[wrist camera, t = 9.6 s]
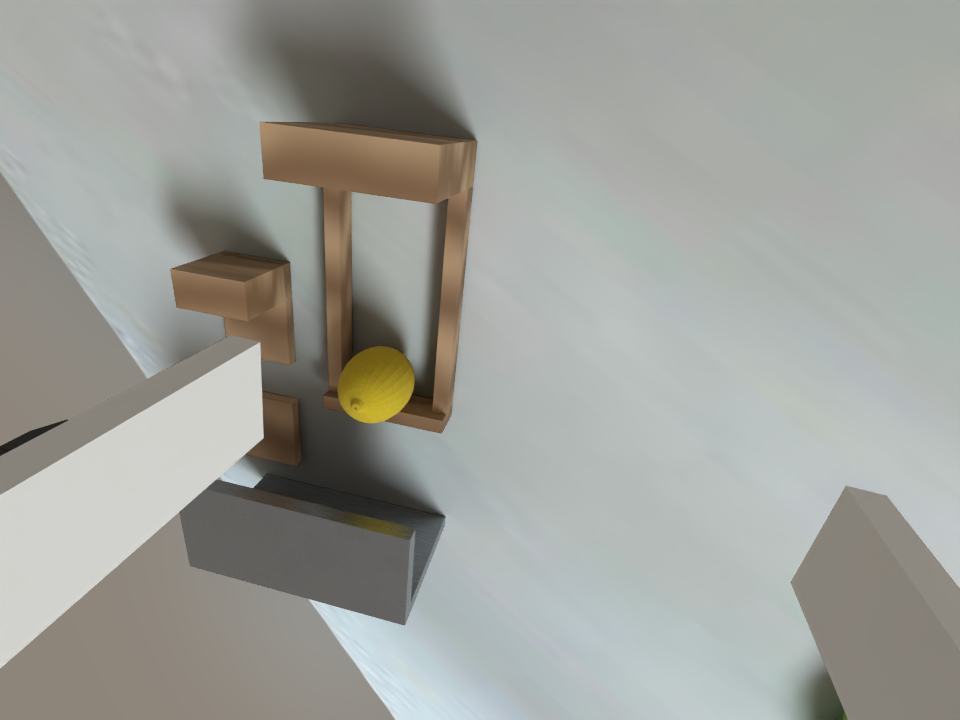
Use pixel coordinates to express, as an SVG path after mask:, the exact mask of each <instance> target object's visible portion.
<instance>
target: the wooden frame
mask: <svg viewBox="0 0 960 720" xmlns="http://www.w3.org/2000/svg"><path fill="white" fill-rule="evenodd" d="M260 135H261V149H262V162H263V175H264V179H269V180H276V181H283V182H289V183H296V184H303V185H310V186H317V187H323V200H324V236H325V272H326V308H327V344H328V380H329V391H328V392H326V393H325V394H324V395H323V408H326V409H330V410H335V411H340V412H344V413H347V412H346V411H345V410H344V409H343V407H342V406H341V404H340V401H339V398H338V390H337V388H338V382H339V378H340V376H341V374H342V372H343V370H344V368H345V366H346V365H347V363H348V362H349V361H350V360H351V359H352V244H351V192H358V193H365V194H371V195H378V196H385V197H392V198H399V199H406V200H412V201H419V202H426V203H433V204H437V203H439V202H441V201H443V200H445V199H448V207H447V221H446V234H445V247H444V261H443V274H442V287H441V301H440V314H439V327H438V341H437V354H436V367H435V381H434V394H433V399H430V398H425V397H420V396H415V395H411V397H410V399H409V401H408V403H407V404H406V405H405V406H404V407H403V408H402V410H401V411H400V412H399V413H397V414H396V415H394V416H393V417H391V418H389V419H388V420H385V421H386V422H390V423H395V424H400V425H404V426H409V427H414V428H418V429H423V430H428V431H432V432H437V433H441V434H442V432H443V430H444V428H445V426H446V424H447V422H448V421H449V419H450V417H451V414H452V403H453V393H454V382H455V371H456V361H457V350H458V340H459V329H460V318H461V308H462V297H463V287H464V276H465V266H466V255H467V244H468V234H469V223H470V213H471V202H472V192H473V181H474V170H475V160H476V149H477V141H476V140H468V139H460V138H452V137H444V136H436V135H428V134H420V133H412V132H404V131H396V130H388V129H380V128H372V127H365V126H357V125H349V124H341V123H309V122H260Z"/></svg>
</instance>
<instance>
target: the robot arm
mask: <svg viewBox="0 0 960 720" xmlns="http://www.w3.org/2000/svg"><path fill="white" fill-rule="evenodd" d="M263 438H264V434H263V406H262V378H261V350H260V342H258V341H254V340H250V339H246V338H241V337H237V336H233V335H230V336H229V337H227V338H225V339H223V340H221V341H219V342H217V343H215V344H213V345H211V346H209V347H208V348H206V349H204V350H202V351H200V352H198V353H196V354H194V355H192V356H190V357H188V358H187V359H185V360H183V361H181V362H179V363H177V364H175V365H173V366H171V367H169V368H167V369H166V370H164V371H162V372H160V373H158V374H156V375H154V376H152V377H150V378H148V379H146V380H145V381H143V382H141V383H139V384H137V385H135V386H133V387H131V388H129V389H127V390H126V391H124V392H122V393H120V394H118V395H116V396H115V397H112V398H111V399H108V400H106V401H105V402H103V403H101V404H99V405H97V406H95V407H93V408H91V409H89V410H87V411H85V412H84V413H82V414H80V415H78V416H76V417H74V418H72V419H70V420H64V421H61V422H58V423H55V424H51V425H48V426H45V427H42V428H38V429H35V430H32V431H29V432H27V433H25V434H23V435H21V436H20V437H17V438H15V439H14V440H12V441H10V442H8V443H6V444H4V445H2V446H0V668H1V667H2V666H3V665H5V664H6V663H7V662H8V661H9V660H10V659H11V658H13V657H14V656H15V655H16V654H17V653H18V652H20V651H21V650H22V649H23V648H24V647H25V646H26V645H27V644H28V643H30V642H31V641H32V640H33V639H34V638H35V637H37V636H38V635H39V634H40V633H41V632H42V631H43V630H45V629H46V628H47V627H48V626H49V625H50V624H51V623H53V622H54V621H55V620H56V619H57V618H58V617H60V615H62V614H63V613H64V612H65V611H66V610H68V609H69V608H70V607H71V606H72V605H73V604H74V603H76V601H78V600H79V599H80V598H81V597H82V596H83V595H85V594H86V593H87V592H88V591H89V590H90V589H91V588H93V587H94V586H95V585H96V584H97V583H98V582H99V581H101V580H102V579H103V578H104V577H105V576H106V575H108V574H109V573H110V572H111V571H112V570H113V569H114V568H115V567H117V566H118V565H119V564H120V563H121V562H122V561H123V560H124V559H126V558H127V557H128V556H129V555H130V554H132V553H133V552H134V551H135V550H136V549H137V548H138V547H140V546H141V545H142V544H143V543H144V542H145V541H146V540H148V539H149V538H150V537H151V536H152V535H153V534H154V533H156V532H157V531H158V530H159V529H160V528H161V527H162V526H163V525H165V524H166V523H167V522H168V521H169V520H170V519H172V518H173V517H174V516H175V515H176V514H177V513H178V512H180V511H181V510H182V509H183V508H184V507H185V506H186V505H188V504H189V503H190V502H191V501H192V500H193V499H195V498H196V497H197V496H198V495H199V494H200V493H201V492H203V491H204V490H205V489H206V488H207V487H208V486H209V485H211V484H212V483H213V482H214V481H215V480H216V479H217V478H219V477H220V476H221V475H222V474H223V473H224V472H225V471H227V470H228V469H229V468H230V467H231V466H232V465H233V464H235V463H236V462H237V461H238V460H239V459H240V458H241V457H243V456H244V455H245V454H246V453H247V452H248V451H249V450H251V449H252V448H253V447H254V446H255V445H256V444H257V443H259V442H260V441H261V440H262V439H263ZM791 584H792V587H793V589H794V592H795V594H796V596H797V599H798V601H799V604H800V606H801V608H802V611H803V613H804V615H805V618H806V620H807V623H808V625H809V627H810V630H811V632H812V635H813V637H814V639H815V642H816V644H817V647H818V649H819V651H820V654H821V656H822V659H823V661H824V663H825V666H826V668H827V671H828V673H829V675H830V678H831V680H832V683H833V685H834V687H835V690H836V692H837V695H838V697H839V699H840V702H841V704H842V707H843V709H844V711H845V714H846V716H847V719H848V720H960V588H959V587H958V586H957V585H956V583H955V582H954V581H953V580H952V578H951V577H950V576H949V574H948V573H947V572H946V571H945V569H944V568H943V567H942V566H941V564H940V563H939V562H938V560H937V559H936V558H935V557H934V555H933V554H932V553H931V552H930V550H929V549H928V548H927V546H926V545H925V544H924V543H923V541H922V540H921V539H920V538H919V536H918V535H917V534H916V533H915V531H914V530H913V529H912V527H911V526H910V525H909V524H908V522H907V521H906V520H905V519H904V517H903V516H902V515H901V513H900V512H899V511H898V510H897V508H896V507H895V506H894V505H893V503H892V502H891V501H890V499H889V498H888V497H887V496H885V495H881V494H877V493H873V492H869V491H865V490H861V489H857V488H853V487H849V486H846V487H845V488H844V490H843V492H842V494H841V495H840V497H839V499H838V501H837V502H836V504H835V506H834V508H833V509H832V511H831V513H830V515H829V516H828V518H827V520H826V522H825V523H824V525H823V527H822V529H821V530H820V532H819V534H818V536H817V537H816V539H815V541H814V543H813V544H812V546H811V548H810V550H809V551H808V553H807V555H806V557H805V558H804V560H803V562H802V564H801V565H800V567H799V569H798V571H797V572H796V574H795V576H794V578H793V579H792V581H791Z"/></svg>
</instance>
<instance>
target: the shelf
mask: <svg viewBox="0 0 960 720" xmlns="http://www.w3.org/2000/svg"><path fill="white" fill-rule="evenodd" d="M180 517H181V523H182V528H183V533H184V538H185V543H186V548H187V552H188V558H189V563H190V566H192V567H196V568H199V569H203V570H206V571H210V572H214V573H217V574H221V575H225V576H228V577H232V578H236V579H239V580H242V581H247V582H250V583H254V584H257V585H261V586H264V587H268V588H272V589H275V590H279V591H282V592H286V593H289V594H293V595H297V596H300V597H304V598H308V599H311V600H315V601H318V602H322V603H326V604H329V605H333V606H336V607H340V608H344V609H347V610H351V611H354V612H358V613H362V614H365V615H369V616H372V617H376V618H380V619H383V620H387V621H391V622H394V623H398V624H401V625H405V624H406V622H407V619H408V616H409V614H410V611H411V609H412V606H413V604H414V601H415V599H416V596H417V594H418V591H419V589H420V586H421V584H422V581H423V579H424V576H425V574H426V571H427V569H428V566H429V564H430V561H431V559H432V556H433V553H434V551H435V548H436V546H437V543H438V541H439V538H440V536H441V533H442V531H443V528H444V524H445V517H444V516H440V515H435V514H431V513H427V512H423V511H419V510H415V509H410V508H406V507H402V506H398V505H394V504H390V503H386V502H381V501H377V500H373V499H369V498H365V497H361V496H356V495H352V494H348V493H344V492H340V491H336V490H332V489H327V488H323V487H319V486H315V485H311V484H307V483H302V482H298V481H294V480H290V479H286V478H282V477H278V476H273V475H269V474H266V475H265V476H264V477H263V478H262V479H261V481H260V482H259V483H258V484H257V485H256V486H255V487H254V488H249V487H245V486H241V485H237V484H233V483H229V482H225V481H221V480H215V481H214V482H213V483H212V484H211V485H209V486H208V487H207V488H206V489H205V490H204V491H203V492H201V493H200V494H199V495H198V496H197V497H196V498H195V499H193V500H192V501H191V502H190V503H189V504H188V505H186V506H185V507H184V508H183V509H182V510H181V511H180Z"/></svg>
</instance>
